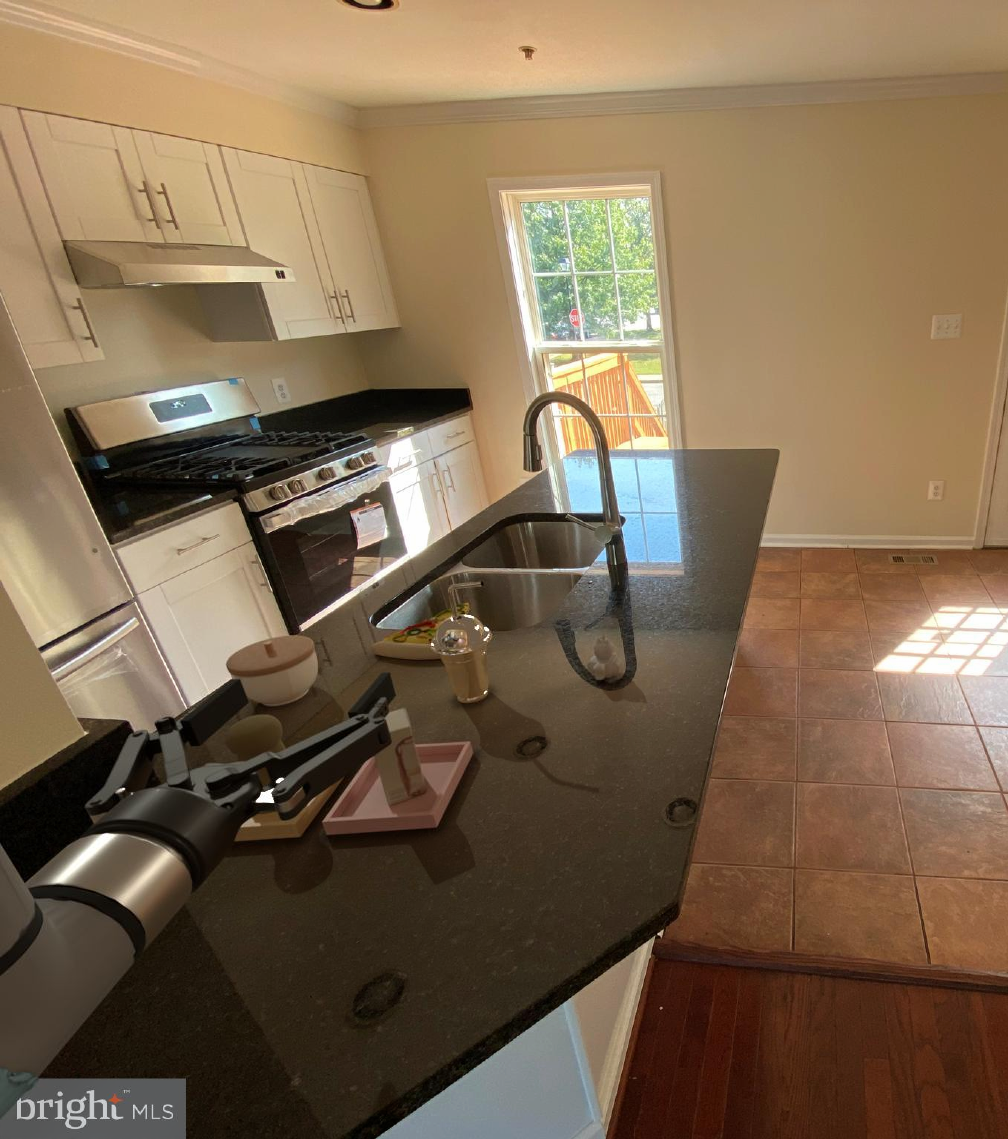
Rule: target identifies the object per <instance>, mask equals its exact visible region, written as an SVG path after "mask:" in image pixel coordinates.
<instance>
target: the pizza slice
mask: <svg viewBox="0 0 1008 1139" xmlns="http://www.w3.org/2000/svg"><path fill="white" fill-rule="evenodd" d="M456 606H457V611H458V614H467V615H469V612H470V604H469V602H465V603H464V602H463V603H462V602H461V603H456ZM451 616H453V612H452V608H451V607H450V608H446V609H443V610H442V611H440V612H439V613H437V614H436V615H435V616H433V617H431V618H425V619H424V620H423V621H422V622H420V623H417V624H412V625H408V626H407V627H405V628H404V629H402V630H400V631H396V632H393V633H391V634H388V635H386V636H385V637H384V638H383V639H382V641H377V642H373V644H372V645H371V651H372V653H373V655H377V656H382V657H387V658H392V659H402V660H412V661H421V660H422V661H424V660H427V661H428V660H441V658H440V656H439V654H437V653H435V652H434V651H432V649H431V640H432V638H433V637H434V636H435V634H436V631H437V629H438V626H439V625H440V624H441V623H442V622H443V621H444V620H445V619H447V618H448V617H451Z"/></svg>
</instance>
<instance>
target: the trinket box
mask: <svg viewBox="0 0 1008 1139" xmlns="http://www.w3.org/2000/svg"><path fill="white" fill-rule="evenodd" d="M315 649H316V646H315V643H314V640H313V639H311V638H310V637H308V636H305V635H295V634H294V635H282V636H276V637H270V638H267V639H263V640H259V641H257V642H254V643H251V644H248V645H246V646H244V647H242V648H240V649H239V650H237V651H235V652H234V653H233V654H231V655H230V656H229V657H228V659H227V660H226V663H225V666H226V670H227V671H228V673H229V675H230V677H231V680H232V679H240V680H241V682H242V685H243V688H244V690H245V693H246V696H247V698H248V700H251V701H253V702H256V703H259V704H262V705H263V706H265V707H280V706H284V705H287V704H290V703H293V702H296V701H297V700H299V699H301V698H303V697H304V696H305V695H307V694H308V693H309V690H310V688H311V687H312V686H313V685H314V683H315V681H316V678H317V676H318V671H319V663H318V656H317V652H316V650H315Z"/></svg>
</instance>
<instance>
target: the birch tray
mask: <svg viewBox="0 0 1008 1139" xmlns="http://www.w3.org/2000/svg"><path fill="white" fill-rule="evenodd" d="M344 779H345V777H343V778H342V779H340V780H339V781H337V782H336V783H335V784H333V785H332V786H330V787H329V788H327V789H326V790H325V791H323V792H322V793H320V794H319V795H317V796H316V797H315V798H313V799H312V800H311V801H310V802H309V803H308V804H307V806H306V807H305V808H304V809H303V810H302V811H301V812H300V813H299V814H298V815H297V816H296V817H294V818H293V819H290V820H287V821H283V820H281V819H280V817H279V814H278V812H271V813H267V814H257V815H255V816H254V817H252V818H251V819H249V820H248V821H246V822H245V823H244V824H243V825H242V826H241V827H240V829H239V831H238V833H237V835H236V838H235V841H234V842H247V841H260V840H275V839H290V838H300V837H302V836H303V834H304V833H305V831H306V830H307V829H308V827H309V826H310V825H311V823H312V822H313V820H314V819H315V818H316V816H317V815H318V814H319V812H320V811H321V810H322V808H323V807H324V806H325V804H326V803H327V802H328V800H329V799H330V798H331V796H332V795H333V794H334V792H335V791H336V789H337V788H338V787H339V785H340V784H341V783H342V781H343V780H344Z"/></svg>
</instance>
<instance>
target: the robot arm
mask: <svg viewBox="0 0 1008 1139" xmlns="http://www.w3.org/2000/svg"><path fill="white" fill-rule="evenodd" d="M394 686H395V685H394V683H393V679H392V675H391V671H390V672H389V671H388V672H381V673H380V674H379V675H378V676H377V677H376V679H375V680H374V681H373V682H372V684H370V685H369V687H368V688H367V689H366V690H365V691H364V693H363V694H362V695H361V697H360V698H359V699H358V700H357V701H356V702H355V703H354V705H353V706H352V707H351V708H350V709H349V710H348V712H347V715H348V718H347V719H346V720H344V721H342V722H339V723H338V724H335V725H334V726H333V725H332V726H330V727H329V728H327V729H325V730H323V731H320V732H318V733H316V734H314V735H311V736H310V737H307V738H305V739H304V740H303V739H302V740H301V741H299V742H297V743H295V744H292V745H291V746H288V747H285V748H286V749H284V750H282V751H280V752H278V753H272V752H265V753H263V754H261V755H258V756H256V757H254V758H252V759H250V760H248V761H241V762H238V761H234V762H228V763H220V762H209V763H208V762H207V763H205V764H204V765H203V766H199V767H196V768H193V766H192V762H191V758H190V755H189V751H188V747H187V745H186V744H187V743H188V744H189V745H190V746H189V747H201V746H202V745H204V743H206V741H208V740H209V739H210V738H211V737H213V735H214V734H216V732H218V731H219V730H220V729H221V728H222V727H223V726H224V725H226V724H227V723H228V722H229V721H230V720H231V719H232V718H233V717H235V716H236V715H237V714H238V713H239V712H240V711H241V710H243V709H244V708H245V707H246V706H248V704H250V701H249V698H247V696H246V693H245V690H244V688H243V685H242V682H241V680H240V679H232V678H231V679H230V680H229V681H228V682H226V683H225V684H224V685H223V686H222V687H220V688H219V689H217V691H215V692H214V693H213V694H211V695H210V696H209V697H208V698H207V699H206V700H204V701H202V702H201V703H200V704H199V705H198V706H195V707H194V708H191V709H190V710H189V711H188V712H186V713H185V714H184V715H182V716H181V717H180V718H179V719H178V720H175V718H174V716H171V715H170V716H164V717H161V718H159V719H157V720H156V721H154V727H155V729H156V731H154V732H150V733H149V731H148V730H147V729H140V730H136V731H133V732H132V733H130V734H129V735H128V736H127V737H126V740H125V742H124V744H123V746H122V748H121V750H120V752H119V754H118V756H117V759H116V761H115V763H114V765H113V767H112V769H111V771H110V772H109V775H108V776H107V779H106V781H105V783H104V785H103V787H102V788H101V789H100V790H99V791H98V792H96V793H95V794H94V795H93V796H92V797H91V798H90V799H89V800H88V801H87V802H86V803H85V804H84V808H85V810H86V812H87V814H88V815H89V817H90V819H91V821H92V822H93V823H92V825H91V826H90V827H89V828H88V829H86V831H84V832H83V833H82V835H81V836H80V837H79V838H78V839H76V840H75V841H73V842H71V843H70V844H67V845H66V847H64V848H63V849H62V850H60V852H58V853H57V854H56V855H55V856H54V857H53V858H51V859H50V860H49V861H48V862H47V863H45V865H44V866H42V867H41V868H40V869H39V870H38V871H37V872H36V873H35V874H33V876H31V877H29V879H28V880H27V881H26V882H24V880H23V878H22V877H21V875H20V873H19V872H18V870H17V869H16V867H15V865H14V864H13V862H12V861H11V859H10V858H9V855H8V854H7V852H6V851H5V849H4V848H3V846H2V844H1V843H0V1120H2V1119H3V1117H4V1116H5V1115H6V1114H7V1113H8V1112H9V1111H10V1110H11V1109H12V1108H13V1107H14V1106H15V1105H16V1104H17V1103H18V1102H19V1100H20V1099H21V1098H22V1097H23V1096H24V1095H25V1094H26V1093H27V1092H29V1091H32V1089H33V1088H34V1087H35V1086H36V1085H37V1083H38V1082H39V1081H40V1078H39V1077H40V1076H41V1075H42V1073H43V1072H44V1071H45V1070H46V1068H47V1067H48V1066H49V1065H50V1064H51V1063H52V1062H53V1060H54V1059H55V1058H56V1056H58V1055H59V1053H60V1052H61V1050H62V1049H64V1047H65V1046H66V1044H68V1043H69V1041H70V1040H71V1039H72V1038H73V1036H74V1035H75V1034H76V1033H77V1031H78V1030H79V1029H80V1028H81V1027H82V1025H83V1024H84V1023H85V1022H86V1020H88V1018H89V1017H90V1016H91V1015H92V1014H93V1012H94V1011H95V1010H96V1009H97V1008H98V1007H99V1005H100V1004H101V1003H102V1002H103V1001H104V999H105V998H106V997H107V996H108V994H109V993H110V992H111V991H112V990H113V988H114V987H116V985H117V984H118V983H119V981H120V980H121V979H122V978H123V977H124V975H126V973H127V972H128V970H129V969H130V968H131V967H132V966H134V964H135V962H136V961H137V960H138V959H139V958H140V957H141V955H142V954H143V953H144V952H145V951H146V950H147V948H148V947H149V946H150V945H151V944H152V943H153V942H154V940H155V939H156V938H157V937H158V935H159V934H160V933H161V932H162V931H163V929H164V928H165V927H166V926H167V925H168V924H169V923H170V922H171V920H172V919H174V917H175V915H176V914H177V913H178V912H179V911H180V910H181V909H182V907H184V906H185V904H186V902H188V900H189V897H190V896H191V894H193V893H195V892H196V891H197V890H198V889H199V888H200V887H201V886H202V885H203V883H204V882H205V881H206V880H207V879H208V878H209V877H210V875H211V874H212V873H213V872H214V870H215V869H216V868H217V867H218V866H219V865H220V863H221V862H222V861H223V860H224V859H225V858H226V857H227V855H228V854H229V853H230V851H231V849H232V848H233V846H234V843H235V842H236V841H235V838H236V835H237V833H238V831H239V829H240V827H241V826H242V825H243V824H244V823H245V822H246V821H248V820H249V819H251V818H252V817H254V816H255V815H257V814H258V813H259V812H260V811H274V812H278V814H279V817H280V819H281V820H283V821H287V820H290V819H293V818H294V817H296V816H297V815H298V814H299V813H300V812H301V811H302V810H303V809H304V808H305V807H306V806H307V804H308V803H309V802H310V801H311V800H312V799H313V798H315V797H316V796H317V795H319V794H320V793H322V792H323V791H325V790H326V789H327V788H329V787H330V786H332V785H333V784H335V783H336V782H337V781H339V780H340V779H342V778H343V777H344V778H345V777H346V776H348V775H349V774H350V773H352V772H353V771H355V770H356V769H358V768H359V767H360V766H363V764H364V763H365V762H366V761H368V760H369V759H370V758H372V757H373V756H375V755H376V754H378V753H379V752H380V751H382V750H383V749H385V748H386V747H388V746H389V745H390V744H391V743H392V739H391V736H390V732H389V728H388V725H387V721H386V718H385V717H386V716H387V715H388V713H389V711H390V706H389V705H390V704H391V703H392V701H393V700H394V699H395V697H396V696H397V695H396V691H395V687H394ZM159 754H162V757H163V768H164V772H165V780H166V781H165V782H163V783H161V784H159V785H157V786H154V787H149V788H146V786H147V783H148V781H149V779H150V776H151V774H152V771H153V769H154V766H155V763H156V761H157V759H158V756H159ZM262 768H266V770H267V773H268V775H269V778H270V783H269V785H267V786H265V787H263V786H262V781H261V778H260V776H259V773H258V770H260V769H262ZM344 778H343V779H344Z"/></svg>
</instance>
